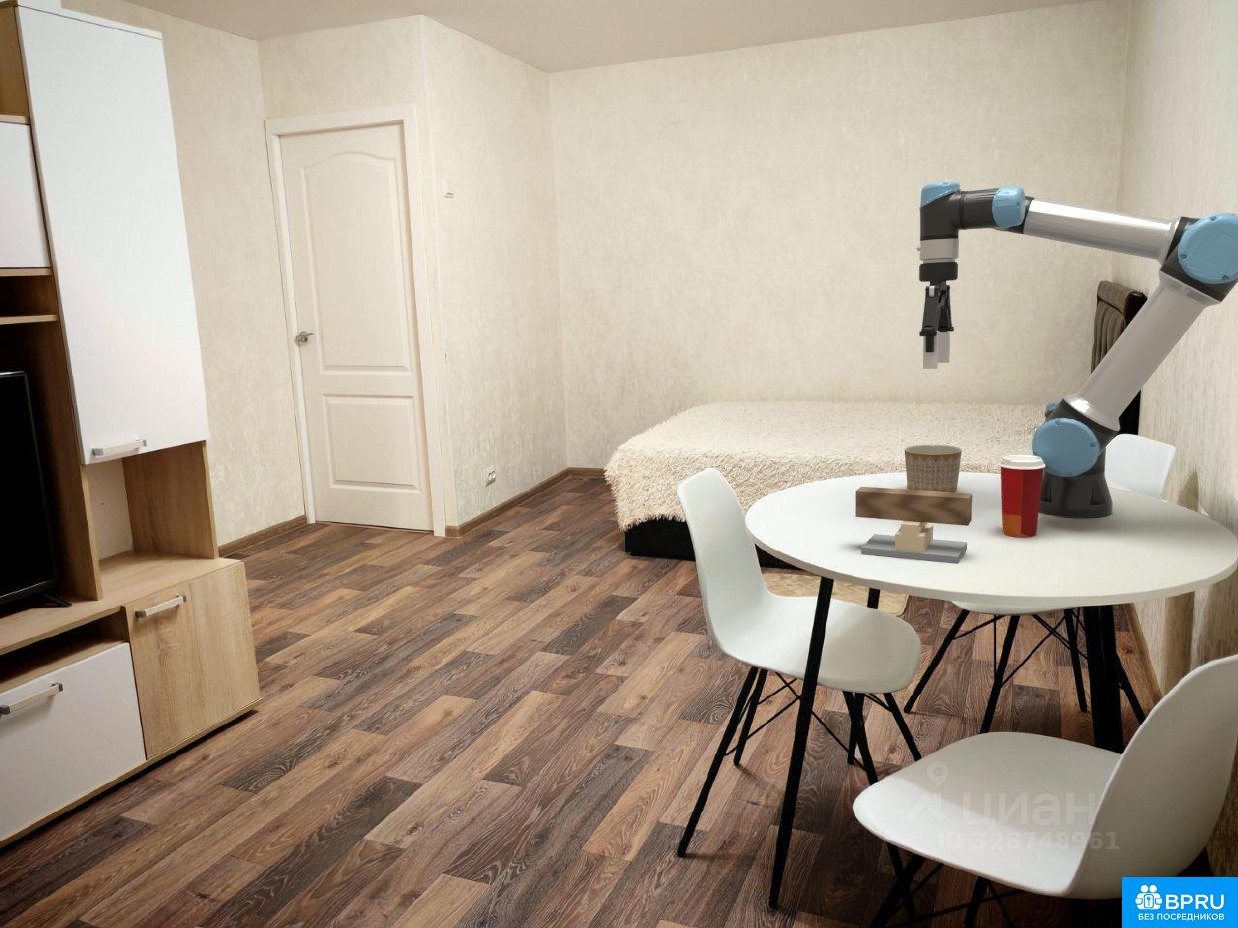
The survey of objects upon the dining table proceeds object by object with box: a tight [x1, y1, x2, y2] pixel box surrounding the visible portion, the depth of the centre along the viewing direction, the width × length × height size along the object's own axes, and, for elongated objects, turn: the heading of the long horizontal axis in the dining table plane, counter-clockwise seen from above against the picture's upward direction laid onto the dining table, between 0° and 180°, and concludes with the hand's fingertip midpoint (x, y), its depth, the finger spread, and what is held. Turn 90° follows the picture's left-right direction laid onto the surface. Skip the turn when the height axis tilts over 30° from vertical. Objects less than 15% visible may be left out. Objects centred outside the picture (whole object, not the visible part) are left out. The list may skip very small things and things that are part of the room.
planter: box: [904, 444, 963, 493], centre depth 212 cm, size 13×13×10 cm
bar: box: [854, 486, 973, 527], centre depth 166 cm, size 20×4×5 cm, turn 61°
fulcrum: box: [860, 521, 968, 564], centre depth 167 cm, size 17×10×6 cm, turn 61°
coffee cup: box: [997, 454, 1045, 538], centre depth 174 cm, size 8×8×15 cm
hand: (936, 365), depth 188 cm, fingers open, 13 cm apart
